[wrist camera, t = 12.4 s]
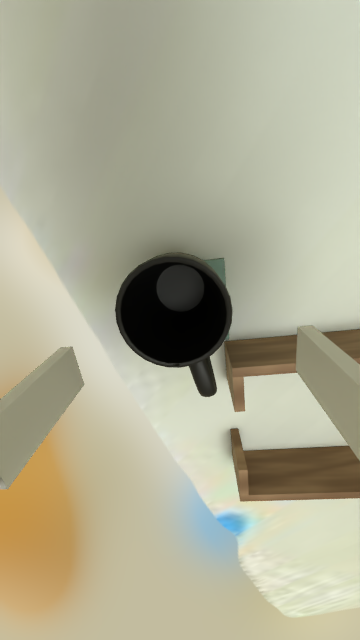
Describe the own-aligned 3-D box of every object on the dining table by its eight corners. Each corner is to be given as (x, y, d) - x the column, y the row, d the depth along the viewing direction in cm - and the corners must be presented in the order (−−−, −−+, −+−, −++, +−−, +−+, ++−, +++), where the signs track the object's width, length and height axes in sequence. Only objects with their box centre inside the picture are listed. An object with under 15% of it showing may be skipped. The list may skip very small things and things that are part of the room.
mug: (170, 361, 28) (159, 418, 19) (130, 264, 25) (94, 280, 16) (237, 341, 27) (259, 393, 18) (205, 236, 24) (212, 236, 15)
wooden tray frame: (224, 341, 28) (232, 368, 22) (448, 321, 26) (521, 345, 20) (232, 456, 34) (240, 501, 28) (415, 448, 31) (464, 495, 26)
